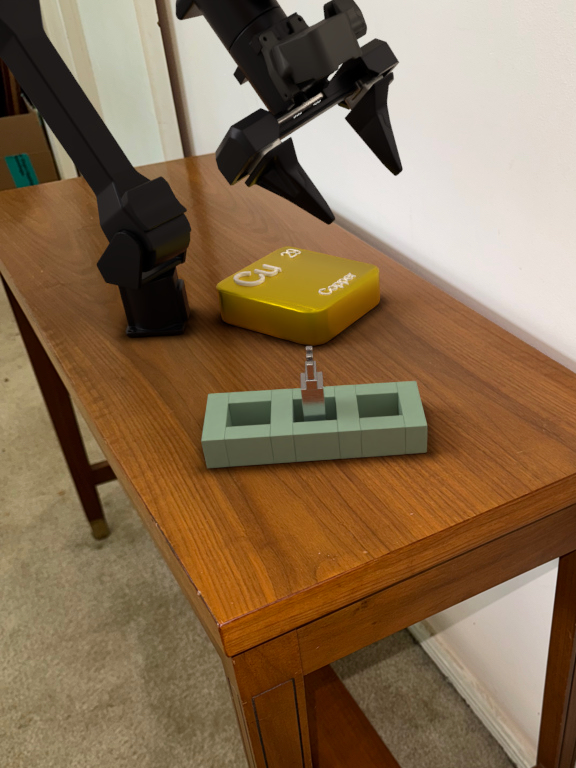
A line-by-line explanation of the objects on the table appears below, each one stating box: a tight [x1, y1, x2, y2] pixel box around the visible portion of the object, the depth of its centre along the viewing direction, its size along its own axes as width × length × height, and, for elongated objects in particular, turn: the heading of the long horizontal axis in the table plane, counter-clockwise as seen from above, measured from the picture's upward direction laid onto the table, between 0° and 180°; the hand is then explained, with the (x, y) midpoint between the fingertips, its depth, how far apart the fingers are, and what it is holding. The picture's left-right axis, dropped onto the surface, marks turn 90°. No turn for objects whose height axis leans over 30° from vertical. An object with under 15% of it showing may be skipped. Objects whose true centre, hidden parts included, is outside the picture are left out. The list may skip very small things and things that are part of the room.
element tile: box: [215, 245, 381, 347], centre depth 91 cm, size 15×15×5 cm
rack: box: [200, 380, 428, 469], centre depth 71 cm, size 20×8×3 cm, turn 97°
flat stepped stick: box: [299, 345, 326, 422], centre depth 69 cm, size 2×4×8 cm, turn 6°
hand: (366, 197), depth 69 cm, fingers open, 9 cm apart
